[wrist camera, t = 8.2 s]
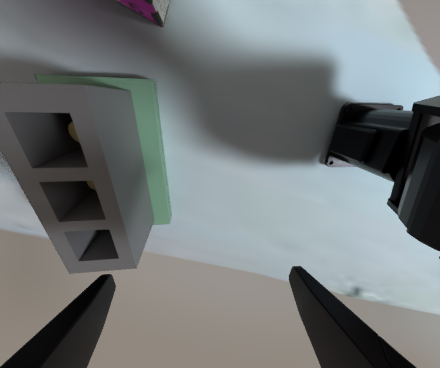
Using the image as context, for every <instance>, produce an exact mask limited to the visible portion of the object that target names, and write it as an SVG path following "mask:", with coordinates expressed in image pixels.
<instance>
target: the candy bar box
mask: <svg viewBox="0 0 440 368" xmlns="http://www.w3.org/2000/svg"><path fill="white" fill-rule="evenodd" d="M116 1H118V2H119V3H121V4H123V5H125V6H127V7H128V8H130V9H132V10H133V11H135V12H137V13H139V14H141V15H142V16H144V17H146V18H148V19H149V20H151V21H153V22H154V23H156V24H158V25H160V26H161V27H163V26H164V22H165V18H166V14H167V10H168V5H169V0H116Z"/></svg>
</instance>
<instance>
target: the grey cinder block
mask: <svg viewBox="0 0 440 368" xmlns="http://www.w3.org/2000/svg"><path fill="white" fill-rule="evenodd" d="M71 122H73V124H74V127H75V130H76V133H77V135H78V138H79V141H80V142H78V141H76V140H74V139H73V138H72V137H71V135H70V134H69V131H68V126H69V124H70V123H71ZM0 150H1V152H2V153H3V155H4V157H5V159H6V161H7V162H8V164H9V166H10V168H11V170H12V171H13V173H14V175H15V177H16V179H17V180H18V182H19V184H20V186H21V188H22V189H23V191H24V193H25V195H26V197H27V198H28V200H29V202H30V204H31V206H32V207H33V209H34V211H35V213H36V215H37V216H38V218H39V220H40V222H41V224H42V225H43V227H44V229H45V231H46V233H47V234H48V236H49V238H50V240H51V241H52V243H53V245H54V247H55V249H56V251H57V252H58V254H59V256H60V258H61V259H62V261H63V263H64V265H65V267H66V268H67V270H68V272H69V274H71V273H84V272H96V271H109V270H121V269H133V268H137V265H138V263H139V260H140V257H141V255H142V252H143V249H144V247H145V244H146V241H147V238H148V236H149V233H150V230H151V228H152V225H153V222H154V215H153V210H152V204H151V199H150V193H149V188H148V182H147V177H146V172H145V166H144V161H143V155H142V150H141V144H140V139H139V133H138V128H137V122H136V117H135V111H134V106H133V100H132V95H131V91H126V90H118V89H110V88H102V87H95V86H87V85H65V84H36V83H7V82H0ZM86 181H93V183H94V186H95V189H96V190H94V189H92V188H90V187H89V186H88V184H87V182H86Z"/></svg>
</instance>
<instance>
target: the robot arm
mask: <svg viewBox="0 0 440 368" xmlns="http://www.w3.org/2000/svg"><path fill="white" fill-rule="evenodd" d="M347 108H348V111H347ZM330 161H331V163H329V162H330ZM325 165H326V166H328V167H359V168H361V169H364V170H366V171H368V172H371V173H373V174H375V175H378V176H380V177H383V178H385V179H387V180H390V181H392V182H394V185H393V189H392V193H391V196H390V198H389V199H388V202H387V205H388V206H389V207H390V208H391V209H392V210H393V211H394V212H395V213H396V214H397V215H398V217H399V219H400V220H401V221H402V223H403V224H404V225H405V227H407V233H408V234H410V235H411V236H413V237H414V238H416V239H417V240H418V241H420V242H422V243H424V244H425V245H427V246H429V247H431V248H433V249H435V250H437V251H440V96H436V97H433V98H429V99H425V100H422V101H418V102H415V103H414V104H413V107H412V111H403V106H401V105H373V104H345V105H344V106H343V107H342V109H341V112H340V115H339V119H338V122H337V125H336V128H335V131H334V134H333V138H332V141H331V144H330V147H329V150H328V153H327V157H326V160H325ZM439 259H440V257H439ZM289 282H290V285H291V288H292V291H293V295H294V298H295V301H296V305H297V308H298V311H299V314H300V316H301V319H302V321H303V324H304V326H305V329H306V331H307V334H308V336H309V338H310V341H311V343H312V346H313V348H314V351H315V353H316V356H317V358H318V361H319V363H320V366H321V368H416V367H415V366H414V365H413V364H411V363H410V362H409V361H408V360H407V359H406V358H404V357H403V356H402V355H401V354H400V353H398V352H397V351H396V350H395V349H394V348H393V347H392V346H390V345H389V344H388V343H387V342H386V341H385V340H384V339H383V338H381V337H380V336H378V334H377V333H376V332H375V331H373V330H372V329H371V328H370V327H369V326H368V325H367V324H366V323H364V322H363V321H362V320H361V319H360V318H359V317H358V316H356V315H355V314H354V313H353V312H352V311H351V310H350V309H348V308H347V307H346V306H345V305H344V304H343V303H342V302H341V301H340V300H338V299H337V298H336V297H335V296H334V295H333V294H332V293H331V292H329V291H328V290H327V289H326V288H325V287H324V286H323V285H321V284H320V283H319V282H318V281H317V280H316V279H315V278H314V277H312V276H311V275H310V274H309V273H308V272H307V271H306V270H305V269H303V268H302V267H301V266H293V267H292V269H291V272H290V274H289ZM115 287H116V285H115V282H114V279H113V276H112V275H111V274H104V275H101V276H100V277H99V278H97V280H95V281H94V282H93V283H92V284H91V285H90V286H89V287H88V288H86V290H84V291H83V292H82V293H81V294H80V295H79V296H78V297H77V298H75V299H74V300H73V301H72V302H71V303H70V304H69V305H68V306H67V307H66V308H64V309H63V310H62V311H61V312H60V313H59V314H58V315H57V316H56V317H55V318H53V319H52V320H51V321H50V322H49V323H48V324H47V325H46V326H45V327H44V328H42V329H41V330H40V331H39V332H38V333H37V334H36V335H35V336H34V337H33V338H32V339H30V340H29V341H28V342H27V343H26V344H25V345H24V346H23V347H22V348H20V349H19V350H18V351H17V352H16V353H15V354H14V355H13V356H12V357H11V358H10V359H8V360H7V361H6V362H5V363H4V364H3V365H2V366H1V367H0V368H87V366H88V364H89V361H90V358H91V356H92V354H93V351H94V349H95V347H96V344H97V342H98V339H99V337H100V335H101V332H102V329H103V327H104V324H105V321H106V317H107V314H108V311H109V308H110V305H111V301H112V298H113V295H114V292H115Z"/></svg>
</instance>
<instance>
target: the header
mask: <svg viewBox="0 0 440 368" xmlns="http://www.w3.org/2000/svg"><path fill="white" fill-rule="evenodd" d="M34 75H35V77H36V80H37V83H38V84H65V85H87V86H95V87H102V88H110V89H118V90H126V91H131V95H132V100H133V106H134V111H135V117H136V122H137V128H138V133H139V139H140V144H141V150H142V155H143V161H144V166H145V172H146V177H147V182H148V188H149V193H150V199H151V204H152V210H153V215H154V222H153V225H159V224H170V220H171V216H172V215H171V207H170V199H169V190H168V182H167V174H166V166H165V157H164V149H163V141H162V133H161V124H160V116H159V108H158V100H157V91H156V83H155V81H154V80H151V79H134V78H111V77H88V76H64V75H41V74H34ZM68 131H69V134H70V135H71V137H72V138H73V139H74V140H76V141H78V142H80V141H79V138H78V135H77V133H76V130H75V127H74V124H73V122H71V123H70V124H69V126H68ZM86 182H87V184H88V186H89V187H90V188H92V189H94V190H96V189H95V186H94V183H93V181H86Z"/></svg>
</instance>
